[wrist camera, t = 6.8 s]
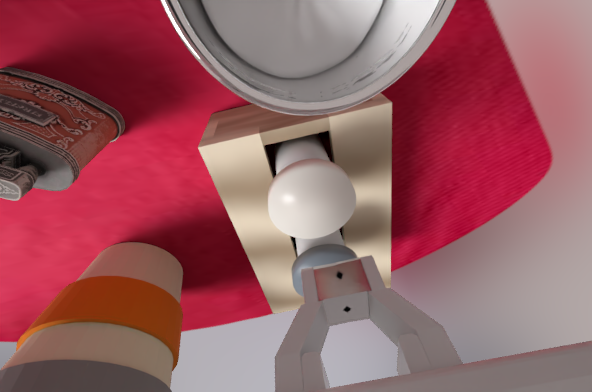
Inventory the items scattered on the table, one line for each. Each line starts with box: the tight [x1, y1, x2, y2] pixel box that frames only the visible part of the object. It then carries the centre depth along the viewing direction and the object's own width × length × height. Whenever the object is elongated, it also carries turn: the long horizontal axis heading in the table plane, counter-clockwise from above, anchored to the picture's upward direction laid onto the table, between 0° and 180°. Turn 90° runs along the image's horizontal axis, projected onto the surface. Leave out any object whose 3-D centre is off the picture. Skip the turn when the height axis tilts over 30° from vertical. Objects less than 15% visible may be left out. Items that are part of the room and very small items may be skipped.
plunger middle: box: [292, 229, 358, 297], centre depth 22 cm, size 5×5×7 cm
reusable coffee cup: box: [0, 242, 183, 392], centre depth 25 cm, size 13×13×15 cm
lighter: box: [0, 67, 125, 201], centre depth 16 cm, size 8×3×10 cm, turn 62°
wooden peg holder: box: [198, 93, 392, 314], centre depth 25 cm, size 19×12×6 cm, turn 11°
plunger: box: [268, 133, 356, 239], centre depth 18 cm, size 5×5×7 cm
